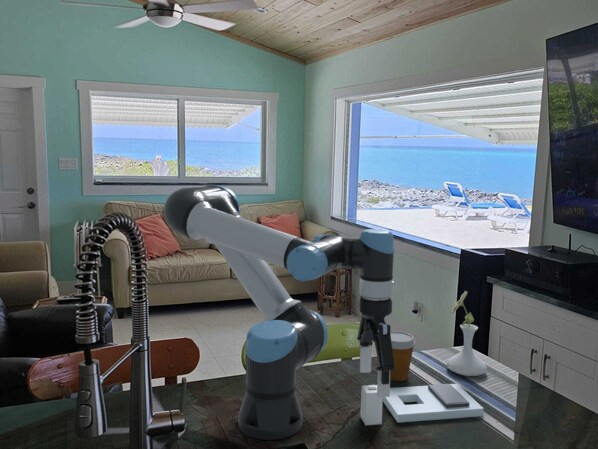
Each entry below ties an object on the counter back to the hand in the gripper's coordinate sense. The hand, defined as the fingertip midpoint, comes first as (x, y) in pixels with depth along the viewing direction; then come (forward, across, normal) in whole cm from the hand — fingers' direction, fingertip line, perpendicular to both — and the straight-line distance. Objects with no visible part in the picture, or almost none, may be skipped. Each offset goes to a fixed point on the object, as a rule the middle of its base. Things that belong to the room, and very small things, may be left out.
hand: (373, 383), depth 126 cm
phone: (+8, +5, -22) cm, 24 cm away
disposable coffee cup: (+10, +23, -15) cm, 29 cm away
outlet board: (+10, +5, -17) cm, 20 cm away
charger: (+9, 0, 0) cm, 9 cm away
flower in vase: (+10, +23, -36) cm, 44 cm away
